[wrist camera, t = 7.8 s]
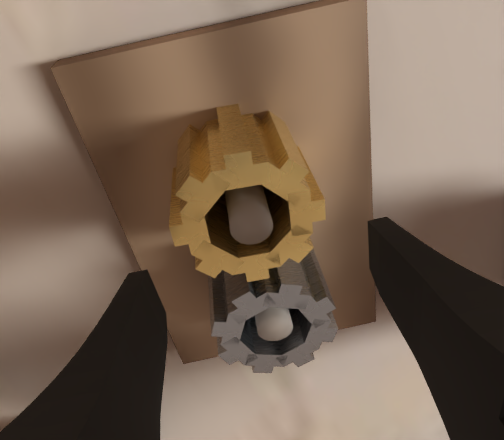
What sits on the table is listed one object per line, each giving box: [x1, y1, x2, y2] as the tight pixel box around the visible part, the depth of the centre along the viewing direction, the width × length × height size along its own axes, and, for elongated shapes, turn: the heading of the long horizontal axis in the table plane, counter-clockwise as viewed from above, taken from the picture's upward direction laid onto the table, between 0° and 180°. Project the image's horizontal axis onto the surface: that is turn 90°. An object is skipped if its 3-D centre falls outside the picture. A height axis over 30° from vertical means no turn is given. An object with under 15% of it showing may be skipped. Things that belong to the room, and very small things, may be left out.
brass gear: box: [169, 104, 326, 282], centre depth 17 cm, size 6×6×4 cm
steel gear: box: [208, 249, 338, 373], centre depth 21 cm, size 6×6×4 cm
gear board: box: [50, 0, 376, 364], centre depth 20 cm, size 12×18×6 cm, turn 11°
